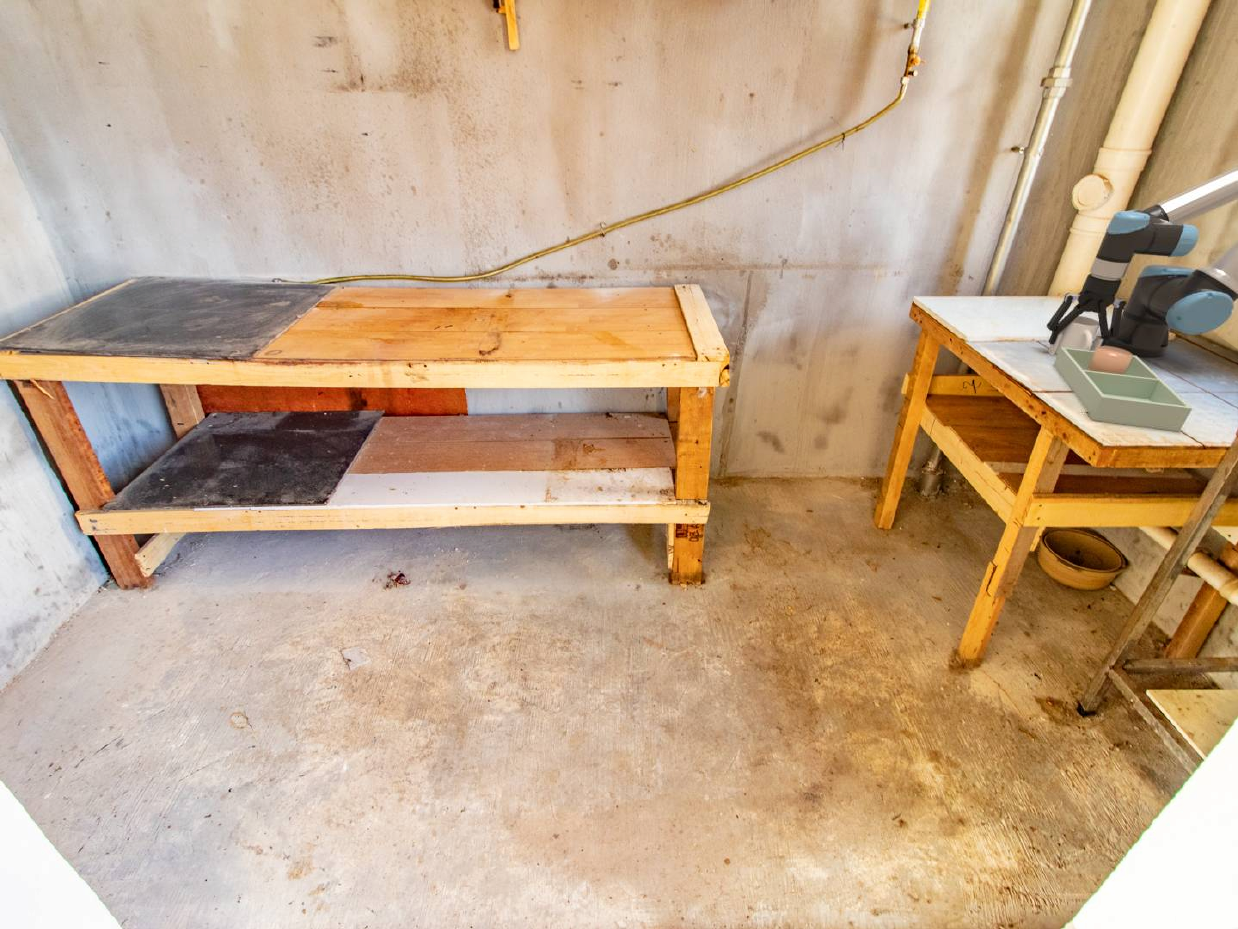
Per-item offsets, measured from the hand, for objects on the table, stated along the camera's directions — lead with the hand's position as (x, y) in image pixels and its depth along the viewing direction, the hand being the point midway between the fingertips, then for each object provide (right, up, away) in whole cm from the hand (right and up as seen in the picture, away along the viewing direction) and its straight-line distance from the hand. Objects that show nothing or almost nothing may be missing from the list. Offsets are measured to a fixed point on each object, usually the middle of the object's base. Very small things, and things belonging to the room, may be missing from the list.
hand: (1069, 357), depth 179 cm
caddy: (-4, -13, -20) cm, 24 cm away
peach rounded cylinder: (-2, -8, -14) cm, 17 cm away
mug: (0, 0, 0) cm, 0 cm away
